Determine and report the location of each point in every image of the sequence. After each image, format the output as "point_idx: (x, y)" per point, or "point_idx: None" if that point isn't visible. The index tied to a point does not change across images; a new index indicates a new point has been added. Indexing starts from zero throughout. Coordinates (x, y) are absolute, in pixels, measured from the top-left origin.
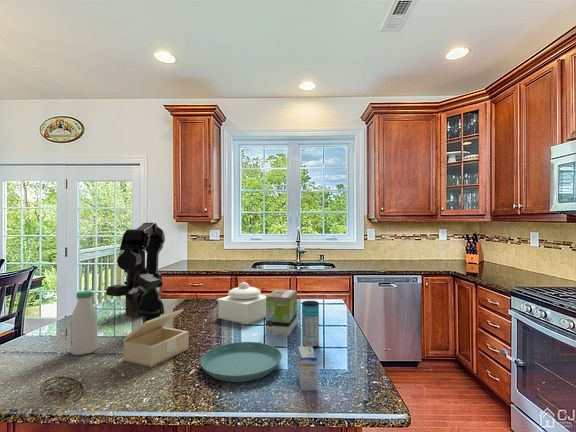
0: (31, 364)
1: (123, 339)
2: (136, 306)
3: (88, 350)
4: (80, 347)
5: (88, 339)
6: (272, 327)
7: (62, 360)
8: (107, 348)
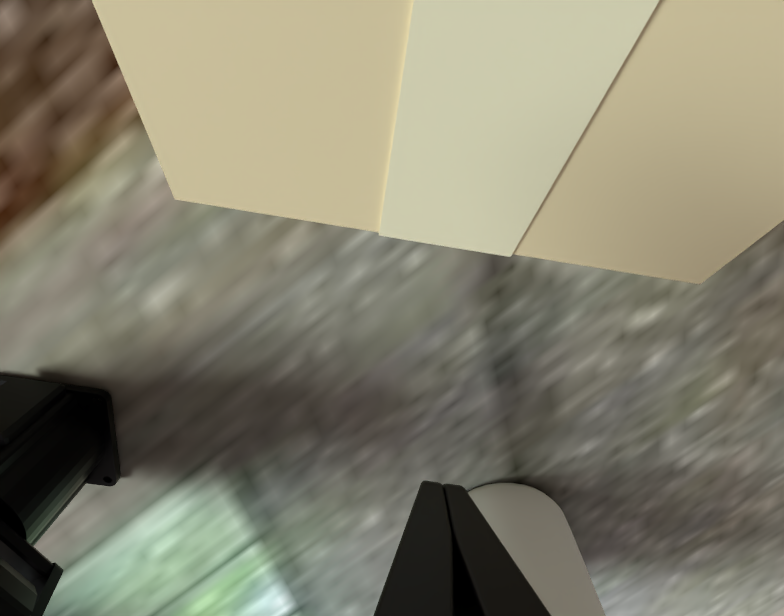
0: (678, 599)
1: (703, 278)
2: (498, 567)
3: (540, 499)
4: (575, 541)
5: (563, 559)
6: None
7: (627, 529)
8: (437, 452)
